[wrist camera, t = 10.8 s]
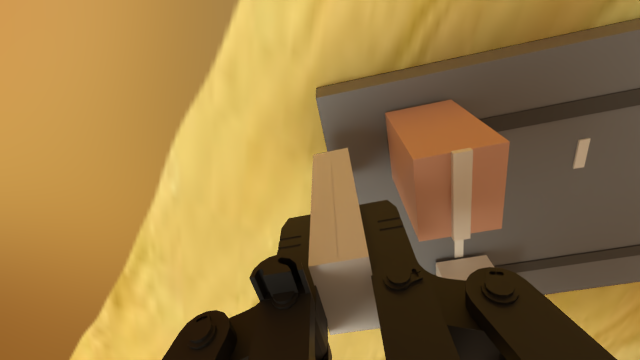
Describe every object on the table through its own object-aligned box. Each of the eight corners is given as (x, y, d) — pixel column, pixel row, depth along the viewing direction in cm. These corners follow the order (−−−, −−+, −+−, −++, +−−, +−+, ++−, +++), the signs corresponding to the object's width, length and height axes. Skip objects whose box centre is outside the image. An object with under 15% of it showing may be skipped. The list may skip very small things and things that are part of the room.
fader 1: (451, 167, 16) (504, 233, 11) (392, 178, 16) (420, 246, 12) (451, 98, 14) (513, 142, 10) (384, 111, 14) (414, 161, 10)
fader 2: (483, 294, 20) (530, 377, 16) (437, 301, 21) (470, 384, 16) (486, 254, 19) (539, 334, 14) (435, 262, 19) (471, 342, 14)
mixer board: (644, 255, 22) (674, 278, 20) (360, 296, 24) (364, 320, 22) (748, -6, 14) (812, -7, 12) (316, 88, 16) (316, 98, 14)
